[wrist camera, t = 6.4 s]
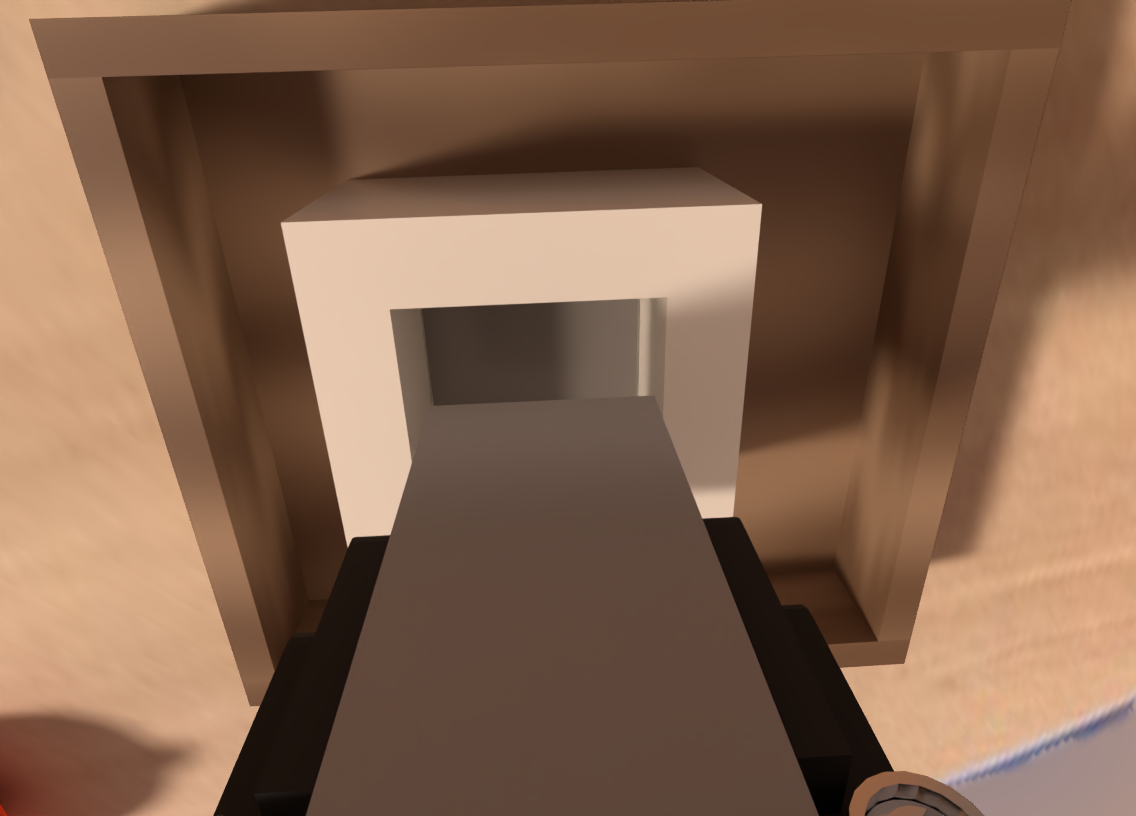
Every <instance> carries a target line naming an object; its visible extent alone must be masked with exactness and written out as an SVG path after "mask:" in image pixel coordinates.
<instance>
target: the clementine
mask: <svg viewBox="0 0 1136 816" xmlns="http://www.w3.org/2000/svg"><path fill="white" fill-rule="evenodd" d="M0 816H7V814H6V812H5V811H4V809H3V807H2V806H1V805H0Z"/></svg>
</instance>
